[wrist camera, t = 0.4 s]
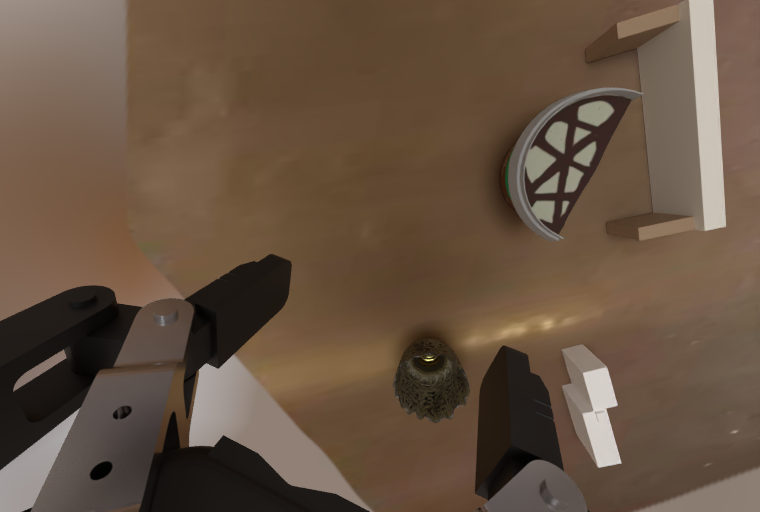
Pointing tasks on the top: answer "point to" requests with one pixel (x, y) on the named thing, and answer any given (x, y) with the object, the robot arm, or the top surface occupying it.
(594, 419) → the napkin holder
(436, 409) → the cup
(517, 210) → the food container
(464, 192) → the top surface
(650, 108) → the back stop bracket
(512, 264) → the top surface
